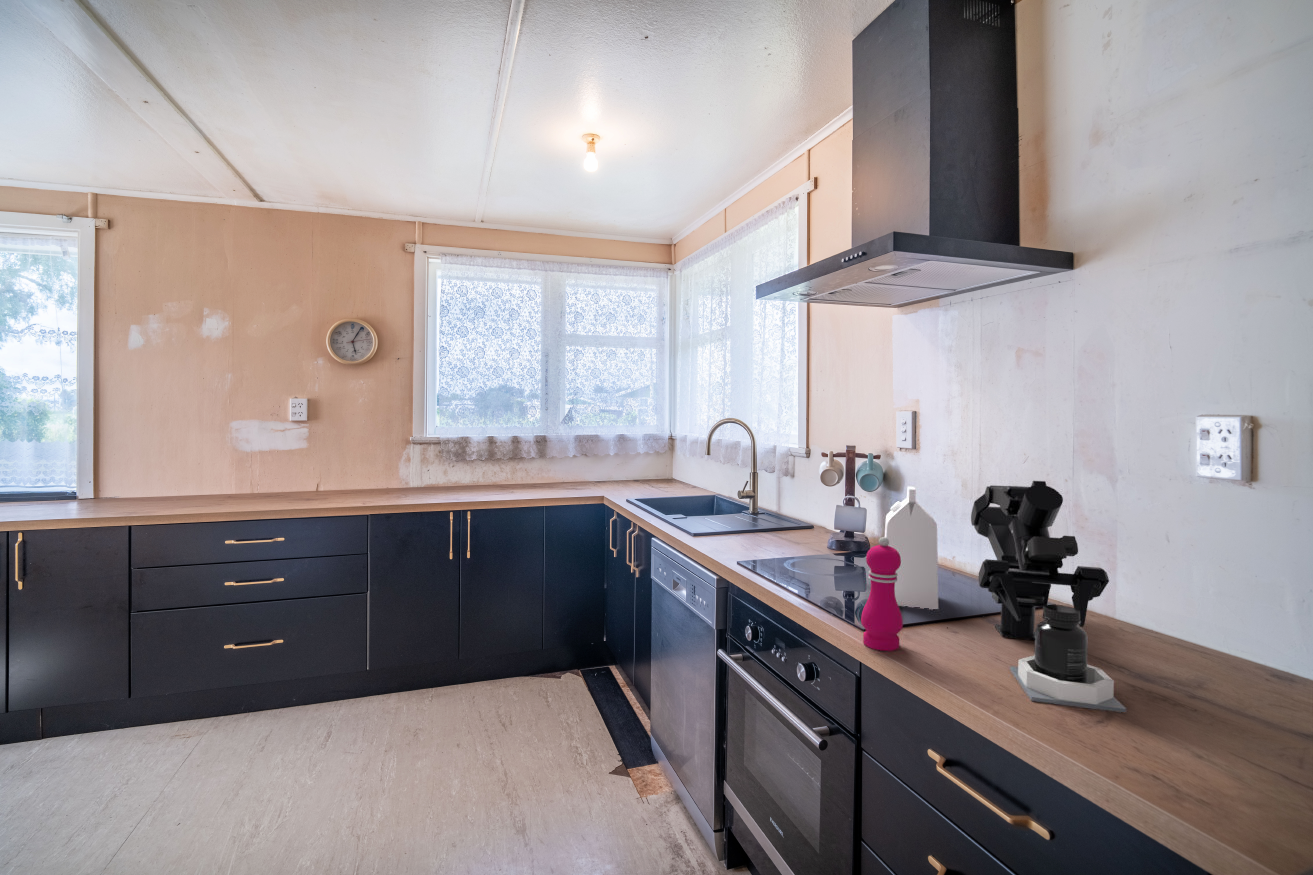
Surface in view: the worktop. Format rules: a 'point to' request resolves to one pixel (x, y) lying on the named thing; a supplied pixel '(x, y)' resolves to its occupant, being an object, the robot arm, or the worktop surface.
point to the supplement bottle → (1061, 645)
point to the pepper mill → (882, 599)
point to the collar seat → (1067, 688)
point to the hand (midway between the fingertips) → (1050, 622)
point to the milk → (914, 552)
